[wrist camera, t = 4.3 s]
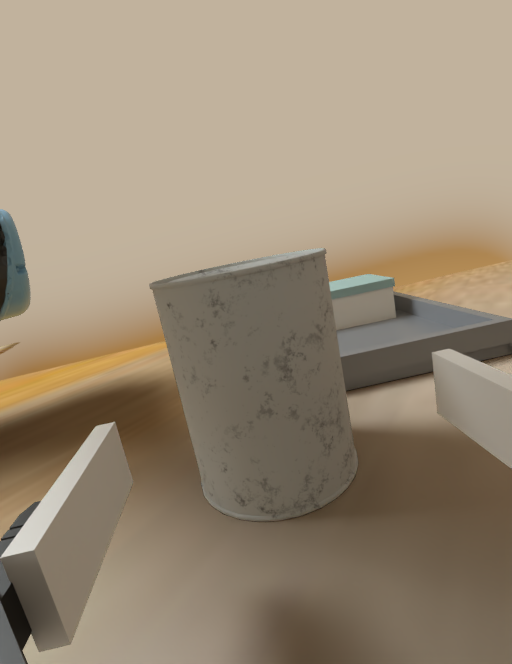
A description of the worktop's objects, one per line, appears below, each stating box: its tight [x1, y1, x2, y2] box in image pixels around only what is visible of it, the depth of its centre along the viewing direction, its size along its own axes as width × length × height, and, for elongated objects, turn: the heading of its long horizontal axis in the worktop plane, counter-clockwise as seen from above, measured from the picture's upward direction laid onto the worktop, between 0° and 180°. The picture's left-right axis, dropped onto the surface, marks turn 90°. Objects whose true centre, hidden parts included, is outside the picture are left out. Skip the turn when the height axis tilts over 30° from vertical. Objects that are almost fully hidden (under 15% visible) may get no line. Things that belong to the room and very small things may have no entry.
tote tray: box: [336, 292, 512, 391], centre depth 44 cm, size 26×18×3 cm
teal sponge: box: [329, 274, 396, 330], centre depth 51 cm, size 8×12×5 cm
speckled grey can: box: [149, 248, 358, 522], centre depth 22 cm, size 10×10×12 cm
